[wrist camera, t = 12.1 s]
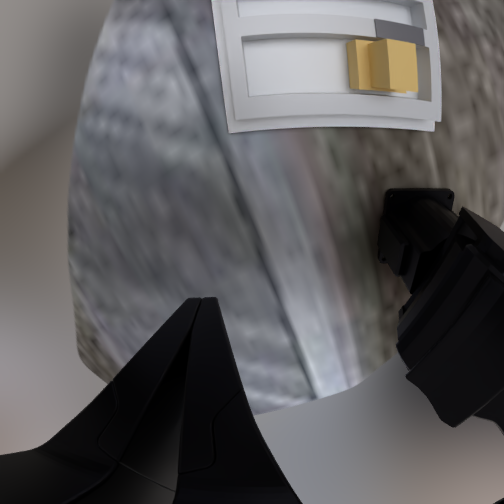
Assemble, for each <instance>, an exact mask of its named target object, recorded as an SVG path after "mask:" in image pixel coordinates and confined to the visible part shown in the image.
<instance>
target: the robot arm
mask: <svg viewBox="0 0 504 504" xmlns="http://www.w3.org/2000/svg"><path fill="white" fill-rule="evenodd" d="M392 194H394V197H393V198H390V197H391V195H392ZM449 194H450V195H449ZM448 195H449V197H448ZM453 201H454V192H453V191H451V190H450V189H389V190H388V191H387V192H386V196H385V206H384V215H383V216H382V217H381V221H380V229H379V236H378V244H377V245H378V247H379V251H378V259H379V261H380V263H388V264H389V266H390V268H391V269H392V271H393V273H394V274H395V275H396V276H397V277H399V276H401V278H402V280H403V281H404V283H405V285H406V287H407V289H408V290H409V292H410V294H412V296H411V297H410V298H409V300H408V301H407V303H406V304H405V305H403V306H402V307H401V309H400V310H399V323H398V326H397V333H398V340H399V341H398V342H397V343H396V348H397V351H398V353H399V355H400V358H401V359H402V361H403V363H404V364H405V366H406V368H407V369H408V370H409V372H408V373H407V374H406V378H407V379H408V380H409V381H410V382H412V383H413V384H414V385H416V386H417V387H418V388H419V389H420V390H421V391H422V392H423V393H424V394H425V395H426V396H427V398H428V399H429V401H430V402H431V404H432V406H433V407H434V409H435V411H436V413H437V414H438V416H439V418H440V419H441V420H442V421H443V422H445V423H446V424H448V425H449V426H451V427H457V426H458V425H460V424H461V423H463V422H464V421H465V420H467V419H468V418H470V417H471V416H473V417H476V418H480V419H484V420H487V421H491V422H494V423H495V424H496V425H497V427H498V428H499V429H500V431H501V432H502V434H503V435H504V232H503V231H502V230H501V229H500V228H498V227H497V226H495V225H494V224H492V223H490V222H489V221H487V220H486V219H484V218H482V217H480V216H479V215H477V214H475V213H474V212H472V211H470V210H468V209H467V208H465V207H463V206H462V208H461V210H460V212H459V215H460V216H459V217H458V216H457V215H456V214H455V213H454V212H453V211H452V206H453ZM382 257H384V258H382ZM0 504H303V503H302V502H301V501H300V499H299V498H298V496H297V495H296V493H295V492H294V491H293V489H292V487H291V485H290V484H289V482H288V481H287V479H286V477H285V475H284V474H283V472H282V470H281V469H280V467H279V465H278V464H277V462H276V460H275V458H274V457H273V455H272V453H271V451H270V449H269V448H268V446H267V444H266V442H265V440H264V438H263V437H262V434H261V432H260V430H259V428H258V426H257V424H256V422H255V419H254V417H253V414H252V411H251V409H250V406H249V403H248V400H247V397H246V394H245V391H244V388H243V385H242V382H241V378H240V375H239V372H238V369H237V365H236V362H235V359H234V355H233V352H232V348H231V345H230V342H229V338H228V335H227V331H226V328H225V324H224V320H223V317H222V313H221V310H220V306H219V302H218V299H217V298H216V297H204V298H203V299H202V298H200V297H199V298H188V299H187V300H186V301H185V302H184V303H183V304H182V305H181V306H180V307H179V308H178V309H177V310H176V311H175V312H174V313H173V314H172V316H171V317H170V318H169V319H168V320H167V321H166V322H165V323H164V324H163V325H162V326H161V327H160V328H159V329H158V331H157V332H156V333H155V334H154V335H153V336H152V337H151V338H150V339H149V340H148V341H147V342H146V343H145V345H144V346H143V347H142V348H141V349H140V350H139V351H138V352H137V353H136V354H135V355H134V356H133V358H132V359H131V360H130V361H129V362H128V363H127V364H126V365H125V366H124V367H123V368H122V369H121V371H120V372H119V373H118V374H117V375H116V376H115V377H114V378H113V381H110V382H109V384H108V385H107V386H106V387H105V388H104V389H103V390H102V391H101V392H100V394H98V395H97V396H96V397H95V399H94V400H93V401H92V402H91V403H90V404H89V405H88V406H87V407H85V408H84V409H83V410H82V411H81V412H80V413H79V414H78V415H77V416H76V417H75V418H74V419H72V420H71V421H70V422H69V423H68V424H67V425H66V426H65V427H63V428H62V429H61V430H60V431H59V432H58V433H57V434H56V435H54V436H53V437H52V438H51V439H50V440H49V441H47V442H46V443H44V444H43V445H41V446H39V447H37V448H34V449H32V450H27V451H22V452H16V453H11V454H5V455H0ZM494 504H504V498H502V499H501V500H499V501H497V502H495V503H494Z"/></svg>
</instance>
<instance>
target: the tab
mask: <svg viewBox="0 0 504 504" xmlns="http://www.w3.org/2000/svg"><path fill="white" fill-rule="evenodd" d="M346 47H347V57H348V69H349V83H350V89H360V90H375V91H387V92H396V93H405V94H406V91H411V92H418V72H417V57H416V45H415V44H414V43H409V42H404V41H398V40H392V39H383V40H379V41H376V42H375V41H366V40H357V39H355V40H353V41H350V42H348V43H346Z"/></svg>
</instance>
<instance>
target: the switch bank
mask: <svg viewBox="0 0 504 504" xmlns="http://www.w3.org/2000/svg"><path fill="white" fill-rule="evenodd" d="M211 1H212V9H213V16H214V24H215V32H216V40H217V48H218V56H219V63H220V71H221V78H222V86H223V94H224V101H225V109H226V116H227V123H228V131H229V133H237V132H246V131H256V130H268V129H281V128H299V127H382V128H399V129H412V130H423V131H432V132H434V128H435V121H439V122H441V66H440V52H439V42H438V33H437V25H436V18H435V12H434V7H433V1H432V0H211ZM355 39H357V40H366V41H375V42H376V41H379V40H383V39H392V40H398V41H404V42H409V43H414V44H415V45H416V57H417V72H418V92H411V91H406V94H405V93H396V92H387V91H375V90H360V89H350V83H349V69H348V57H347V47H346V43H348V42H350V41H353V40H355Z"/></svg>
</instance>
